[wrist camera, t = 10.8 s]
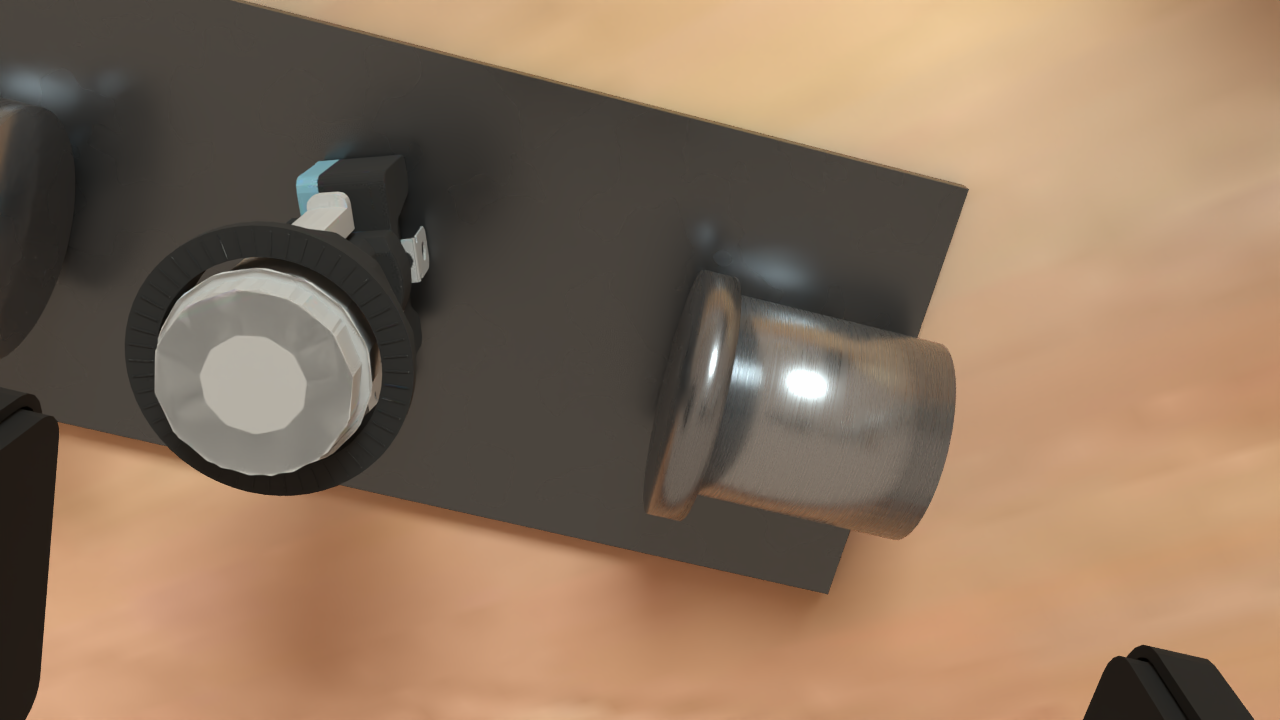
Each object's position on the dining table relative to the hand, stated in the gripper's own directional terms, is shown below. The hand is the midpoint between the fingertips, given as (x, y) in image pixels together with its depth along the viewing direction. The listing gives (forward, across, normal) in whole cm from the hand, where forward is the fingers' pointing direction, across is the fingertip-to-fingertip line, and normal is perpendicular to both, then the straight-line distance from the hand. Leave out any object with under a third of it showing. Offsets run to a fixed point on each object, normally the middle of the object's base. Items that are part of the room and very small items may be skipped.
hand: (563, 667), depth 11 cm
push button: (+21, +6, +4) cm, 22 cm away
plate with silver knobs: (+21, +6, +4) cm, 23 cm away
